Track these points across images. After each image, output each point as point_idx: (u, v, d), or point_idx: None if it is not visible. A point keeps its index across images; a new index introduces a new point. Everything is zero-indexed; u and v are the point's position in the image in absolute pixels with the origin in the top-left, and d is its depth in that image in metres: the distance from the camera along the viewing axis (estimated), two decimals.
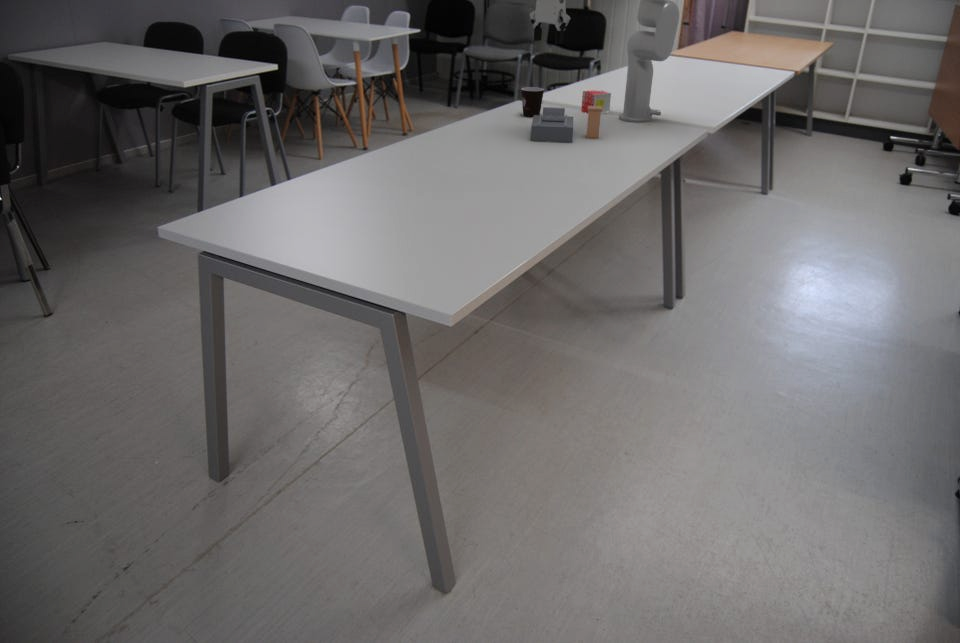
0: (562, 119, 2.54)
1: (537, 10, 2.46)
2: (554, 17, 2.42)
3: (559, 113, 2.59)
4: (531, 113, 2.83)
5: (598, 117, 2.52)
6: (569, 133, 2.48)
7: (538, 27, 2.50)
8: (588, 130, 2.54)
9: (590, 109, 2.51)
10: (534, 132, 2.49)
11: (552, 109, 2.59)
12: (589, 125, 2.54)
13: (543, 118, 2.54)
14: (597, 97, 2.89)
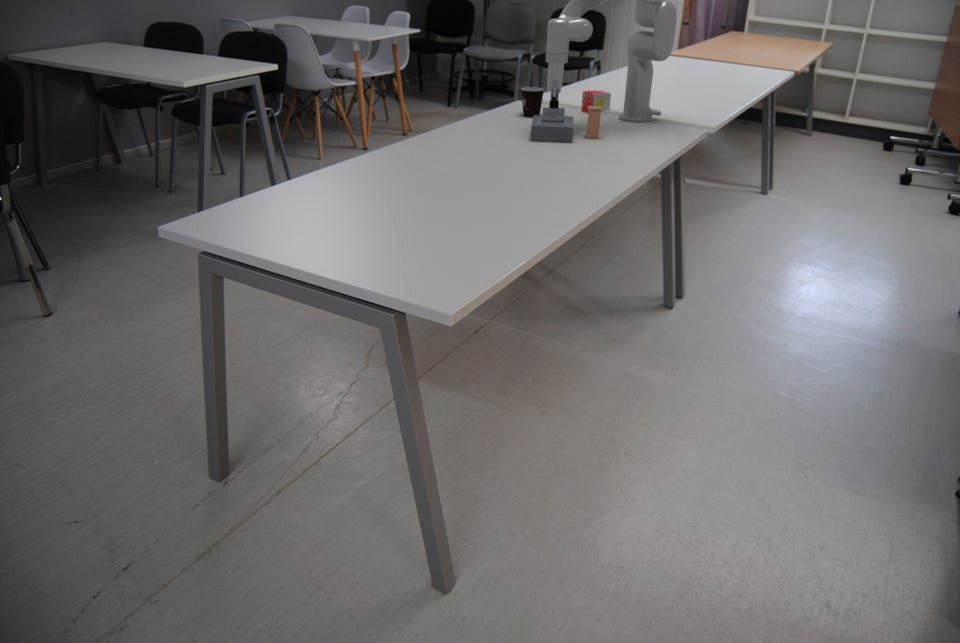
0: (562, 119, 2.54)
1: (561, 82, 2.54)
2: None
3: (559, 113, 2.59)
4: (531, 113, 2.83)
5: (598, 117, 2.52)
6: (569, 133, 2.48)
7: None
8: (588, 130, 2.54)
9: (590, 109, 2.51)
10: (534, 132, 2.49)
11: (552, 109, 2.58)
12: (589, 125, 2.54)
13: (543, 118, 2.54)
14: (597, 97, 2.89)
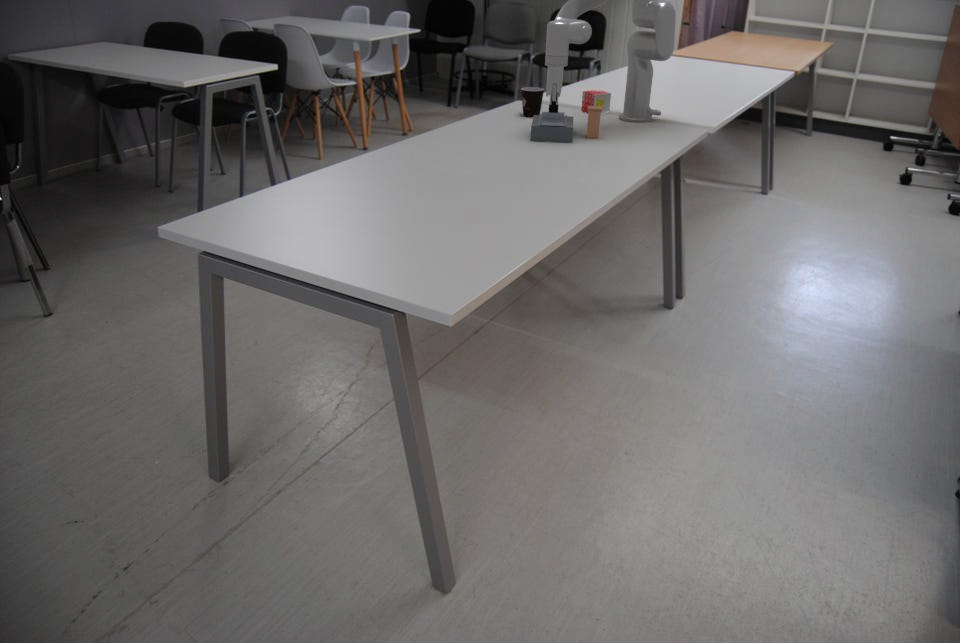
0: (562, 124, 2.47)
1: (561, 85, 2.47)
2: None
3: (559, 118, 2.52)
4: (531, 113, 2.83)
5: (598, 117, 2.52)
6: (569, 133, 2.48)
7: None
8: (588, 130, 2.54)
9: (590, 109, 2.51)
10: (534, 132, 2.49)
11: (551, 114, 2.52)
12: (589, 125, 2.54)
13: (542, 123, 2.47)
14: (597, 97, 2.89)
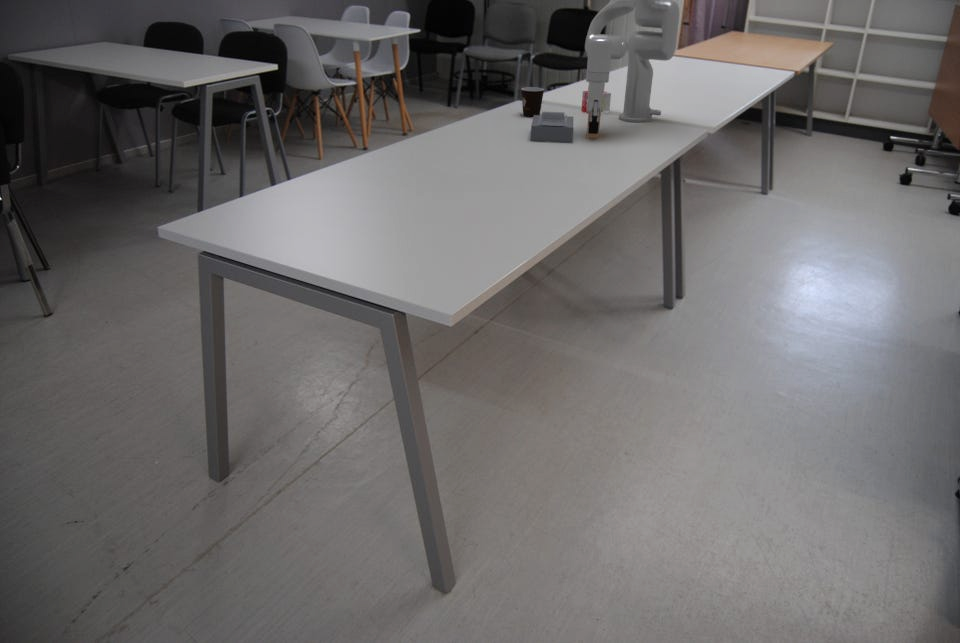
0: (562, 124, 2.47)
1: (602, 102, 2.48)
2: None
3: (559, 118, 2.52)
4: (531, 113, 2.83)
5: None
6: (569, 133, 2.48)
7: None
8: (588, 130, 2.54)
9: None
10: (534, 132, 2.49)
11: (551, 114, 2.52)
12: None
13: (542, 123, 2.47)
14: None
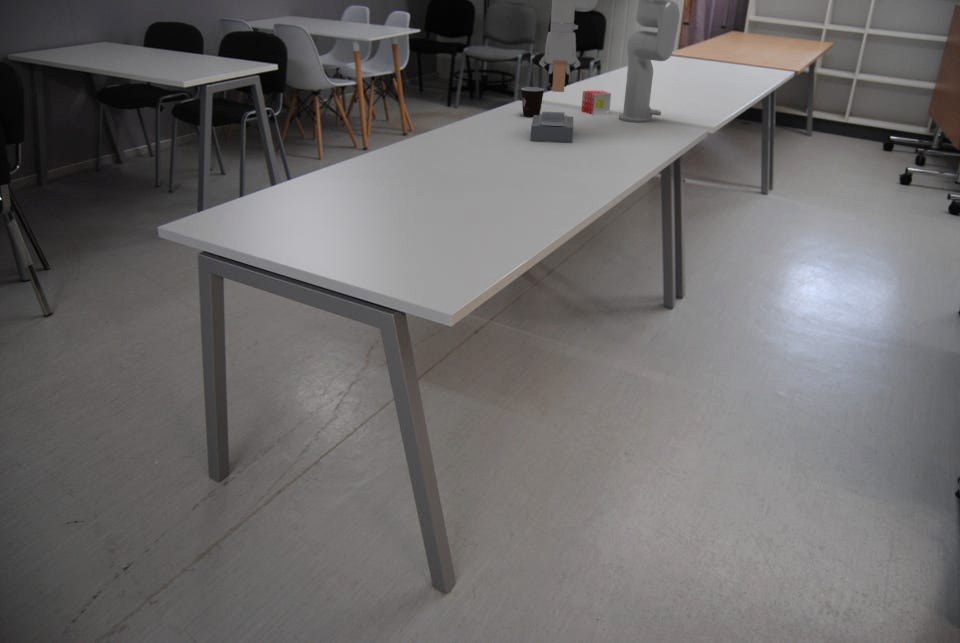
0: (562, 124, 2.47)
1: (549, 52, 2.46)
2: (572, 58, 2.46)
3: (559, 118, 2.52)
4: (531, 113, 2.83)
5: (553, 69, 2.49)
6: (569, 133, 2.48)
7: None
8: None
9: None
10: (534, 132, 2.49)
11: (551, 114, 2.52)
12: None
13: (542, 123, 2.47)
14: (597, 97, 2.89)
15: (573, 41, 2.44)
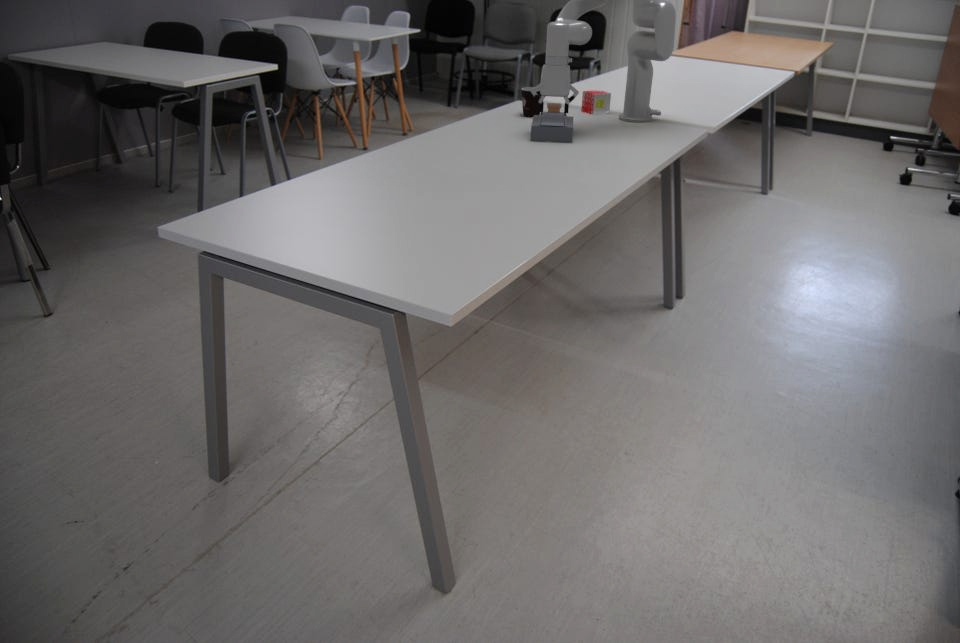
0: (562, 124, 2.47)
1: (544, 85, 2.51)
2: (566, 90, 2.51)
3: (559, 118, 2.52)
4: (531, 113, 2.83)
5: None
6: (569, 133, 2.48)
7: None
8: None
9: (547, 104, 2.58)
10: (534, 132, 2.49)
11: (551, 114, 2.52)
12: None
13: (542, 123, 2.47)
14: (597, 97, 2.89)
15: (567, 74, 2.49)
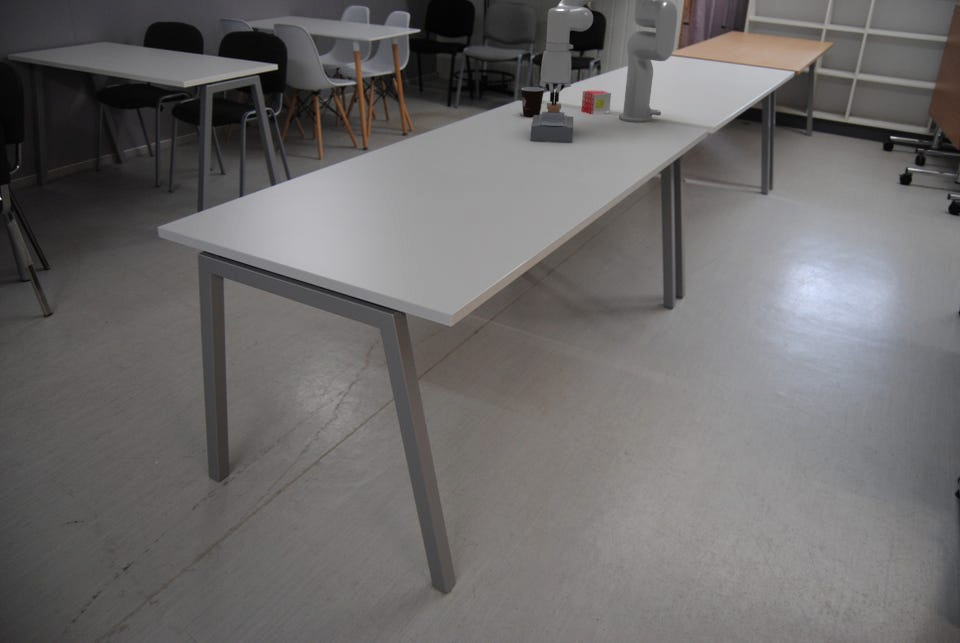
0: (562, 124, 2.47)
1: (545, 71, 2.49)
2: (567, 77, 2.49)
3: (559, 118, 2.52)
4: (531, 113, 2.83)
5: None
6: (569, 133, 2.48)
7: None
8: None
9: (547, 104, 2.57)
10: (534, 132, 2.49)
11: (551, 114, 2.52)
12: None
13: (542, 123, 2.47)
14: (597, 97, 2.89)
15: (568, 60, 2.47)
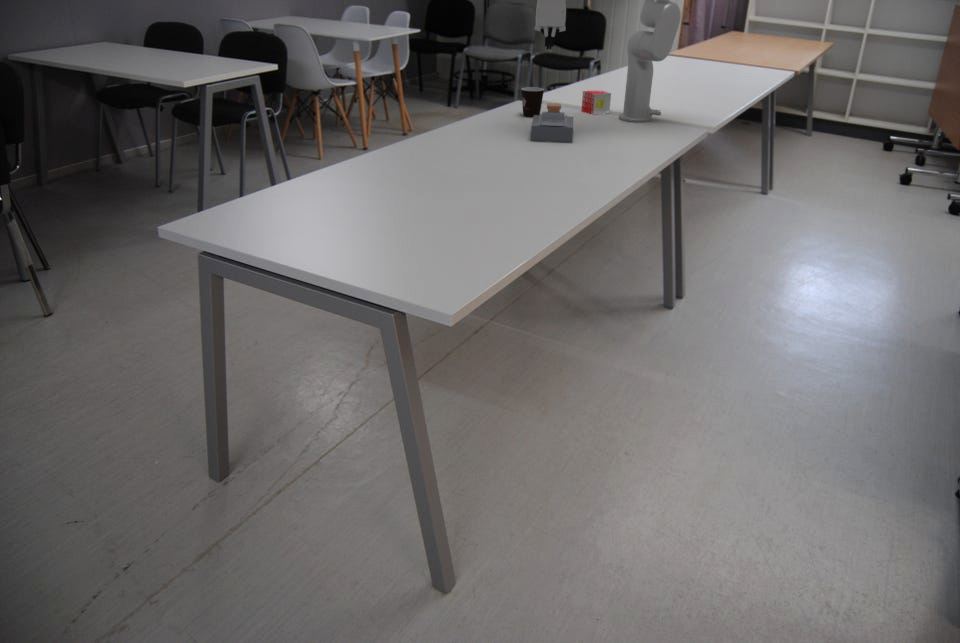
0: (562, 124, 2.47)
1: (540, 15, 2.50)
2: (562, 21, 2.50)
3: (559, 118, 2.52)
4: (531, 113, 2.83)
5: None
6: (569, 133, 2.48)
7: None
8: None
9: (547, 104, 2.57)
10: (534, 132, 2.49)
11: (551, 114, 2.52)
12: None
13: (542, 123, 2.47)
14: (597, 97, 2.89)
15: (563, 3, 2.47)
